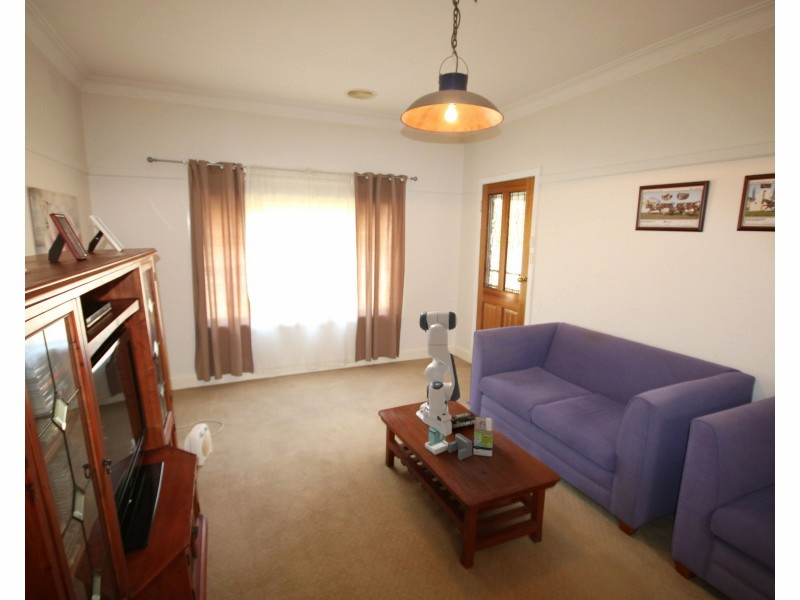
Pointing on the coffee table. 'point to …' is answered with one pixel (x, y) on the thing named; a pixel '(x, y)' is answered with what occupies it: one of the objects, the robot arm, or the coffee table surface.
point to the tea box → (483, 436)
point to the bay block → (461, 446)
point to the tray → (437, 447)
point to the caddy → (435, 436)
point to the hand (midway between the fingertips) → (436, 436)
